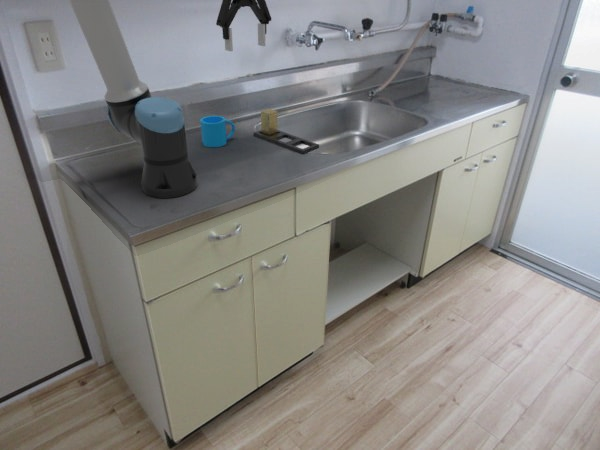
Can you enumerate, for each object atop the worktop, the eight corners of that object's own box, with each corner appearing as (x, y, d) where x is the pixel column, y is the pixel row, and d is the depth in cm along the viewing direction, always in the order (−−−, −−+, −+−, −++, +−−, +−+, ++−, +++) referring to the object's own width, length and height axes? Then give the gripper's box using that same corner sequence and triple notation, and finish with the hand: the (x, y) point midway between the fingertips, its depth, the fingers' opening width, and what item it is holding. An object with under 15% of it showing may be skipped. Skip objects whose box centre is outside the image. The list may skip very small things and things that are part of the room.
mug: (208, 149, 152) (206, 125, 148) (198, 141, 158) (196, 118, 153) (240, 142, 158) (239, 119, 153) (230, 135, 163) (228, 112, 159)
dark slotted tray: (303, 154, 149) (303, 151, 148) (253, 135, 163) (253, 132, 162) (319, 147, 154) (319, 144, 153) (269, 130, 168) (269, 127, 167)
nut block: (269, 138, 161) (268, 113, 156) (261, 135, 163) (260, 111, 158) (277, 135, 163) (277, 111, 158) (269, 133, 165) (269, 108, 161)
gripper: (216, -28, 124) (222, 54, 134) (282, -29, 139) (282, 45, 150) (200, -29, 128) (206, 51, 139) (265, -30, 144) (266, 42, 155)
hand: (245, 48), depth 145 cm, fingers open, 13 cm apart
